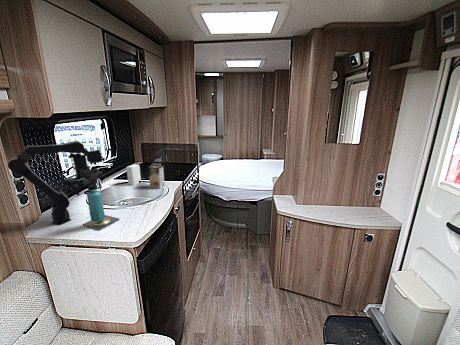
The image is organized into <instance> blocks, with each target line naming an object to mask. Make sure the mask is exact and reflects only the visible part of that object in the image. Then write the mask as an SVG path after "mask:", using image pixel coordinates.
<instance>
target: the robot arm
mask: <svg viewBox="0 0 460 345" xmlns="http://www.w3.org/2000/svg"><path fill="white" fill-rule="evenodd" d="M55 153H70V154H69V155H67V158H68V159H72V160H73V161H72V162H73V165H74V166H73V168H72V169H73V170H74V172H75V174H74V177H67V178H64V179H63V180H62V185H64V186H66V187H69V188H70V189H71V190H72V191H73V192H74V193H75V194H76V195H77V196H78V197H80V191H79V183H78V182H80V181H83V180H87V181H89V182H90V185H93V184H95V185H97V182H98V180H99V179H101V177H102V176H103V173H102V171H101V170H99V169H98V168H94V169H90V166H89V165H88V163H90V164H95V163H96V164H97V163H103V156H102V153H101V152H100V149H95V150H87V149H86V148H85V145H84V144H83V143H82V142H80V141H77V140H73V141H69V142H66V143H61V144H57V143H56V144H44V145H27V146H26V147H25V149H24V150H22V151H21V152H20V153H19V154H18V155H17V156H15V157H12V158H10V159H9V161H8V163H7V168H8V169H9V170H10V171H12V172H13V173H15V174H17V175H19V176H21V177H23V178H25V179H26V180H28V181H29V182H30V183H31V184H33V185H34V187H36V188H37V189H39V190H40V191H41V192H42V193H44V195H46V196H47V197H48V198H49V199H50V201H51V202H52V203H53V204H52V205H51V206H50V207H51V208H50V209H51V212H50V214H51V217H52V221H51V224H53V225H56V226H61V225H63V224H65V223H68V222H70V221H71V220H72V218H70V212H69V211H68V209H67V208H69V206H70V201H69V197H68V195H67V194H65V193H64V192H63V191H62V190H60V191H58V190H56V189H55V188H53V187H52V186H50V185H49V184H48V183H47V182H45V180H43V179H42V178H41V177H40V176H38V175H37V174H36V173H35V172H34V170H32V169H31V167H30V166H29V164H27V163H28V161H29V160H31V158H32V157H33V156H34V155H39V154H40V155H44V154H55Z"/></svg>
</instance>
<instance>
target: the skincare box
mask: <svg viewBox="0 0 460 345" xmlns="http://www.w3.org/2000/svg"><path fill="white" fill-rule="evenodd" d="M125 169H126V175H127V181H128V185H129V186H136V185H138V184H140V183H139V181H141V182H142V178H141V176H142V175H141V168H140V164H134V163H133V164H131V165H128V166H126V168H125Z"/></svg>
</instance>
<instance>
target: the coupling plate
mask: <svg viewBox="0 0 460 345" xmlns="http://www.w3.org/2000/svg"><path fill="white" fill-rule="evenodd" d="M104 215H105V214H104ZM118 221H120V217H119V218H118V217H114V216H112V215H107V214H106V215H105V219H104V220H102V221H99V222H92V220H91V219H90V220H89V221H87V222H84V223H83V224H82V226H83V227H86V228H89V229H93V230H98V231H101V230H103V229H105V228H107V227H109V226H111V225H113V224H115V223H116V222H118Z"/></svg>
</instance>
